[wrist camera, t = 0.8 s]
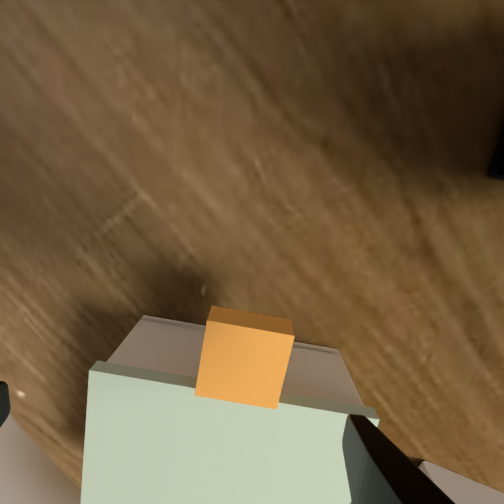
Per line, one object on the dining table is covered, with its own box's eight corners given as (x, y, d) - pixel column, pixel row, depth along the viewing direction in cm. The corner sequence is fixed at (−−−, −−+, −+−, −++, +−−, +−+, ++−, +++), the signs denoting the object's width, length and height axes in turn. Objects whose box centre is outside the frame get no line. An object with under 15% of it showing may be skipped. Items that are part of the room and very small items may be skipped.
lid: (388, 330, 16) (408, 356, 14) (318, 544, 20) (325, 590, 18) (111, 281, 16) (88, 299, 14) (93, 509, 20) (73, 551, 17)
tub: (337, 349, 22) (366, 411, 16) (303, 468, 25) (317, 558, 19) (143, 314, 22) (102, 366, 16) (130, 440, 24) (90, 523, 19)
